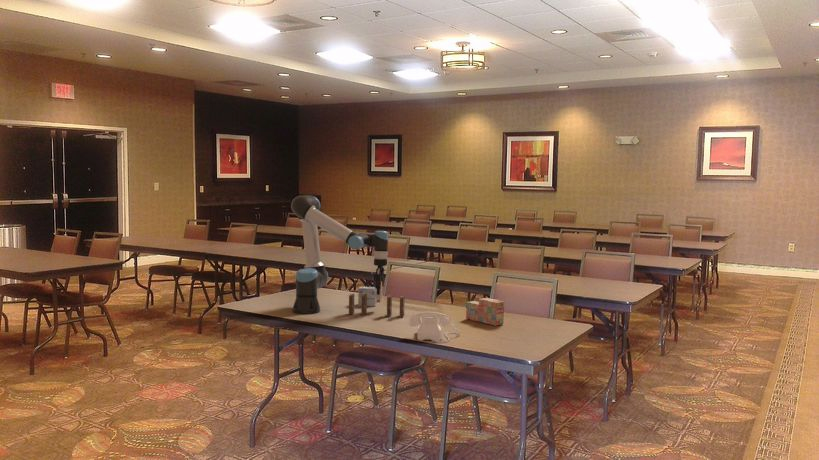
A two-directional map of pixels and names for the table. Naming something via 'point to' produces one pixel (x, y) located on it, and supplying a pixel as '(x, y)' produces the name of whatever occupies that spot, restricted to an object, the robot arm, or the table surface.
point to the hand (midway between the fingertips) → (379, 298)
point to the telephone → (431, 325)
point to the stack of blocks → (486, 311)
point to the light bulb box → (370, 295)
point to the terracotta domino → (381, 294)
